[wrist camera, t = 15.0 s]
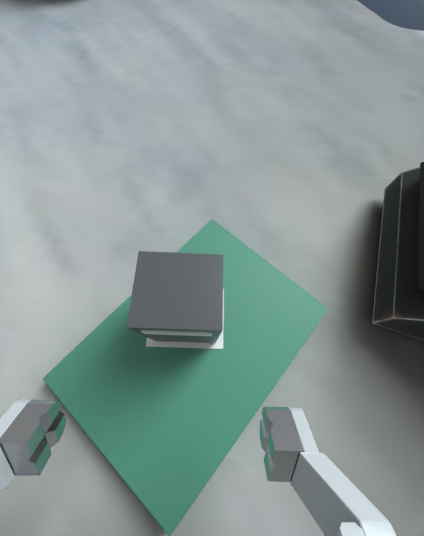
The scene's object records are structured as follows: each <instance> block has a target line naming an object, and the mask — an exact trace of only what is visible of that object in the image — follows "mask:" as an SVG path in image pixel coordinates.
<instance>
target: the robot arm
mask: <svg viewBox="0 0 424 536" xmlns="http://www.w3.org/2000/svg"><path fill="white" fill-rule="evenodd" d="M61 408H62V405H61V402H60V401H47V400H28V399H19V400H17V401H16V402H14V403H13V404H12V406H11V407H10V408H9V409H8V410H7V412H6V413H5V414H4V415H3V416H2V417H1V419H0V491H1V490H2V489H3V488H4V487H5V486H6V485H7V484H8V483H9V482H10V481H11V480H12V479H13V478H15V475H40V473H41V471H42V470H43V468H44V466H45V464H46V463H47V461H48V459H49V457H50V455H51V447H52V446H54V445H55V444H56V443H57V442H58V441H59V439H60V437H61V436H62V434H63V431H64V428H65V421H66V419H65V415H64V414H63V413H62V412H61V411H60V409H61ZM262 415H263V419H262V420H261V421H260V440H261V446H262V448H263V450H264V451H265V452H266V453H265V458H264V463H265V468H266V474H267V479H268V481H276V482H291V485H292V487H293V488H294V489H295V491H296V492H297V494H298V495H299V497H300V498H301V500H302V501H303V503H304V504H305V506H306V507H307V509H308V510H309V512H310V513H311V515H312V516H313V518H314V519H315V521H316V522H317V524H318V525H319V527H320V528H321V530H322V531H323V533H324V534H325V536H396V534H395V532H394V530H393V528H392V526H391V524H390V522H389V521H388V520H387V519H386V518H385V517H384V516H383V515H382V514H381V513H380V512H379V511H378V509H377V508H376V507H375V506H374V505H373V504H372V503H371V502H370V501H369V500H368V499H367V498H366V497H365V496H364V495H363V494H362V493H361V492H360V491H359V490H358V489H357V487H356V486H355V485H354V484H353V483H352V482H351V481H350V480H349V479H348V478H347V477H346V476H345V475H344V474H343V473H342V472H341V471H340V470H339V469H338V468H337V467H336V466H335V464H334V463H333V462H332V461H331V460H330V459H329V458H328V457H327V456H326V455H325V454H324V453H321V452H319V450H318V448H317V445H316V443H315V440H314V437H313V435H312V432H311V429H310V427H309V424H308V422H307V419H306V416H305V414H304V411H303V410H302V408H288V407H264V408H263V410H262Z"/></svg>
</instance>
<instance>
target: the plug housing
mask: <svg viewBox="0 0 424 536" xmlns="http://www.w3.org/2000/svg"><path fill="white" fill-rule="evenodd" d="M127 328H129V329H131V330H133V331H135V332H137V333H139V334H141V335H143V336H145V337H148V338H150V339H152V340H154V341H160V342H192V343H216V341H217V340H218V338H219V336H220V334H221V332H222V330H223V255H219V254H194V253H168V252H142V251H139V253H138V260H137V266H136V272H135V278H134V285H133V291H132V297H131V303H130V310H129V316H128V322H127Z"/></svg>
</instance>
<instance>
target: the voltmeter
mask: <svg viewBox="0 0 424 536" xmlns="http://www.w3.org/2000/svg"><path fill="white" fill-rule="evenodd" d="M372 323H373V324H375V325H378V326H381V327H384V328H387V329H390V330H393V331H396V332H399V333H402V334H405V335H408V336H410V337H413V338H416V339H419V340H422V341H424V162H422V163H421V164H420V167H417V168H414V169H410V170H407V171H403V172H401V173H400V174H399V175H398V176H397V177H396V178H395V179H394V180H393V181H392V182H391V183H390V184H389V185H388V186H387V187H386V188H385V191H384V202H383V212H382V223H381V233H380V244H379V255H378V266H377V277H376V288H375V299H374V310H373V321H372Z"/></svg>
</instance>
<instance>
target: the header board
mask: <svg viewBox="0 0 424 536" xmlns="http://www.w3.org/2000/svg"><path fill="white" fill-rule="evenodd" d="M177 253H194V254H219V255H223V330H222V332H221V334H220V336H219V338H218V340H217V341H216V343H192V342H160V341H154V340H152V339H150V338H148V337H145V336H143V335H141V334H139V333H137V332H135V331H133V330H131V329H129V328H127V322H128V316H129V310H130V303H131V297H132V295H131V296H130V297H129V298H128V299H127V300H126V301H125V302H124V303H123V304H121V305H120V306H119V307H118V308H117V309H116V310H115V311H114V312H113V313H112V314H111V315H110V316H109V317H108V318H107V319H106V320H104V321H103V322H102V323H101V324H100V325H99V326H98V327H97V328H96V329H95V330H94V331H93V332H92V333H91V334H90V335H89V336H87V337H86V338H85V339H84V340H83V341H82V342H81V343H80V344H79V345H78V346H77V347H76V348H75V349H74V350H73V351H71V352H70V353H69V354H68V355H67V356H66V357H65V358H64V359H63V360H62V361H61V362H60V363H59V364H58V365H57V366H56V367H54V368H53V369H52V370H51V371H50V372H49V373H48V374H47V375H46V376H45V377H44V378H43V380H44V381H45V382H46V384H47V385H48V386H49V387H50V389H51V390H52V391H53V392H54V394H55V395H56V396H57V397H58V399H59V400H60V401H61V402H62V404H63V405H64V406H65V407H66V409H67V410H68V411H69V412H70V413H71V415H72V416H73V417H74V418H75V420H76V421H77V422H78V423H79V425H80V426H81V427H82V428H83V430H84V431H85V432H86V433H87V435H88V436H89V437H90V438H91V440H92V441H93V442H94V443H95V445H96V446H97V447H98V448H99V450H100V451H101V452H102V453H103V455H104V456H105V457H106V458H107V460H108V461H109V462H110V463H111V464H112V466H113V467H114V468H115V469H116V471H117V472H118V473H119V474H120V476H121V477H122V478H123V479H124V481H125V482H126V483H127V484H128V486H129V487H130V488H131V489H132V491H133V492H134V493H135V494H136V496H137V497H138V498H139V499H140V501H141V502H142V503H143V504H144V506H145V507H146V508H147V509H148V511H149V512H150V513H151V514H152V515H153V517H154V518H155V519H156V520H157V522H158V523H159V524H160V525H161V527H162V528H163V529H164V530H165V532H166V533H167V534H168V535H169V536H170V535H171V534H172V532H173V531H174V529H175V528H176V526H177V525H178V524H179V522H180V521H181V519H182V518H183V516H184V515H185V514H186V512H187V511H188V509H189V508H190V506H191V505H192V504H193V502H194V501H195V499H196V498H197V496H198V495H199V494H200V492H201V491H202V489H203V488H204V486H205V485H206V483H207V482H208V481H209V479H210V478H211V476H212V475H213V473H214V472H215V471H216V469H217V468H218V466H219V465H220V463H221V462H222V461H223V459H224V458H225V456H226V455H227V453H228V452H229V451H230V449H231V448H232V446H233V445H234V443H235V442H236V441H237V439H238V438H239V436H240V435H241V433H242V432H243V430H244V429H245V428H246V426H247V425H248V423H249V422H250V420H251V419H252V418H253V416H254V415H255V413H256V412H257V410H258V409H259V408H260V406H261V405H262V403H263V402H264V400H265V399H266V398H267V396H268V395H269V393H270V392H271V390H272V389H273V388H274V386H275V385H276V383H277V382H278V380H279V379H280V377H281V376H282V375H283V373H284V372H285V370H286V369H287V367H288V366H289V365H290V363H291V362H292V360H293V359H294V357H295V356H296V355H297V353H298V352H299V350H300V349H301V347H302V346H303V345H304V343H305V342H306V340H307V339H308V337H309V336H310V335H311V333H312V332H313V330H314V329H315V327H316V326H317V324H318V323H319V322H320V320H321V319H322V317H323V316H324V314H325V313H326V312H327V310H328V308H327V307H326V306H324V305H323V304H322V303H320V302H319V301H318V300H317V299H315V298H314V297H313V296H311V295H310V294H309V293H307V292H306V291H305V290H304V289H302V288H301V287H300V286H298V285H297V284H296V283H295V282H293V281H292V280H291V279H289V278H288V277H287V276H285V275H284V274H283V273H282V272H280V271H279V270H278V269H276V268H275V267H274V266H272V265H271V264H270V263H269V262H267V261H266V260H265V259H263V258H262V257H261V256H259V255H258V254H257V253H256V252H254V251H253V250H252V249H250V248H249V247H248V246H246V245H245V244H244V243H243V242H241V241H240V240H239V239H237V238H236V237H235V236H234V235H232V234H231V233H230V232H228V231H227V230H226V229H224V228H223V227H222V226H221V225H219V224H218V223H217V222H215V221H214V220H213V219H212V220H211V221H210V222H209V223H208V224H207V225H205V226H204V227H203V228H202V229H201V230H200V231H199V232H198V233H197V234H196V235H195V236H194V237H193V238H192V239H191V240H190V241H188V242H187V243H186V244H185V245H184V246H183V247H182V248H181V249H180V250H179V251H178V252H177Z"/></svg>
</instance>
